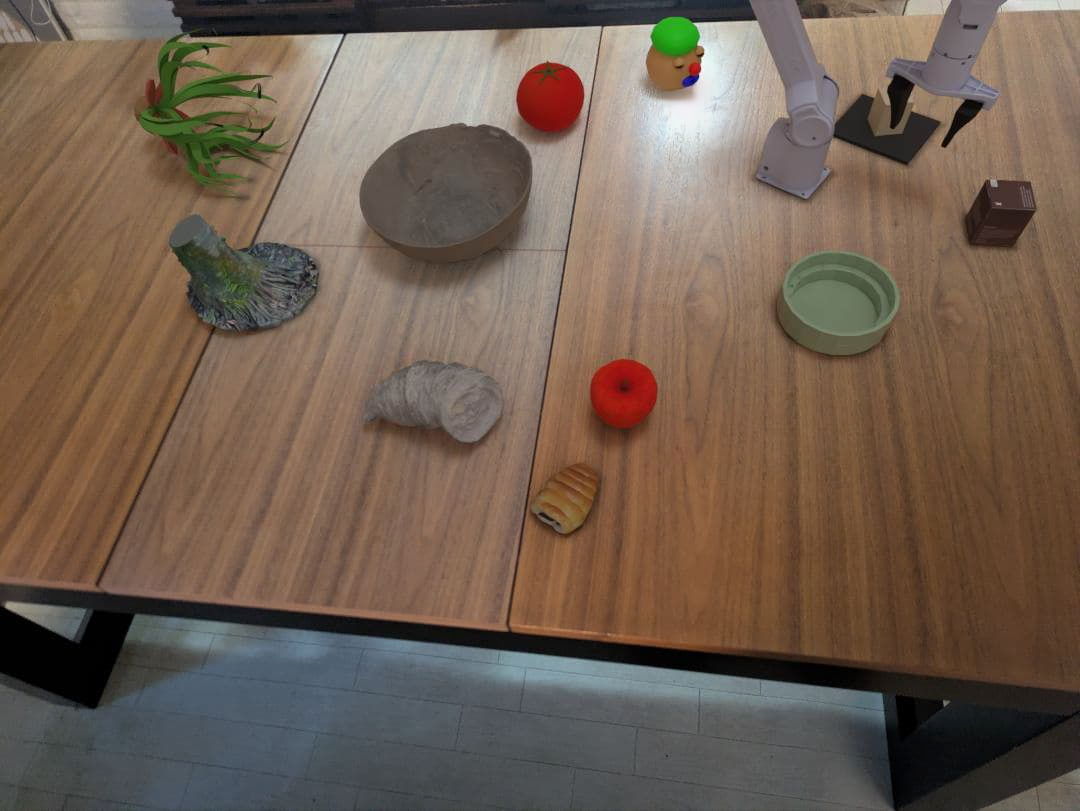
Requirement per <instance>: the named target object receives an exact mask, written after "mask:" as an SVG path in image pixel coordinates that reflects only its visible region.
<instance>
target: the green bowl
mask: <svg viewBox="0 0 1080 811" xmlns="http://www.w3.org/2000/svg"><path fill="white" fill-rule="evenodd" d="M900 303H901V294H900V289H899V286H898V282H896V280H895V278H894V277H893V276H892V274H891V273H890V272H889V270H888V269H886V268H885V267H884V266H882V265H881V264H880V263H879V262H877V261H876V260H874V259H872V258H869V257H867V256H865V255H863V254H861V253H857V252H853V251H848V250H844V249H827V250H826V249H824V250H820V251H816V252H813V253H808V254H806V255H805V256H803V257H801V258H800V259H798V260H796V261H795V262H793V264H792V265H791V266H790V268H789V269H788V270H787V271H786V273H785V275H784V279H783V283H782V285H781V289H780V293H779V296H778V300H777V303H776V310H777V319H778V321H779V322H780V325H781V326H782V328H783V330H784V332H785V333H786V334H787V335H789V336H790V337H791V339H793V340H794V341H795V342H796V343H797V344H799V345H801V346H803V347H805V348H807V349H808V350H811V351H813V352H816V353H821V354H825V355H829V356H851V355H855V354H859V353H863V352H866V351H868V350H870V349H871V348H872V347H874V346H876V345H877V344H879V343H880V342H881V341H882V339H883V338H884V336H885V335H886V333H887V332H888V331H889V328H890V327H891V325H892V323H893V321H894V319H895V317H896V315H897V313H898V311H899V307H900Z"/></svg>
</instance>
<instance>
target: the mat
mask: <svg viewBox="0 0 1080 811" xmlns="http://www.w3.org/2000/svg"><path fill="white" fill-rule="evenodd" d="M874 99H875V97H873V96H869V95H867V94H865V93H861V95H860V96H859V97H858V98H857V99H856V100H855V101H854V102H853V103H852V105H851V106H850V107H849V108H848V109H847V110H846V111H845V112H844V113H843V115H842V116H841V117H840V118H839V119H838V120H837V121H836V122H835V123H834V127H835V129H834V134H833V137H832V138H836V139H837V140H838V139H839V140H841V141H844V142H846V143H849V144H852V145H854V146H856V147H859V148H863V149H864V150H867V151H869V152H872V153H874V154H877V155H880V156H882V157H885V158H887V159H891V160H893V161H895V162H898V163H900V164H903V165H906V166H908V165H909V163H910V162H911V161H912V159H913V158H914V157H915V156H916V154H918V152H919V151H920V149H921V148H922V147H923V146H924V145H925V143H926V142H927V141H928V140H929V138H930V137H931V136H932V135H933V133H934V132H935V131H936V130H937V128H938V127H939V126H940V125H941V120H938V119H935V118H932V117H929V116H927V115H924V114H921V113H918V112H915V111H913V110H911V113H910V115H909V118H908V120H907V123H906V125H905V128H904V130H903V132H902V134H892V135H882V136H874V134H873V131H872V129H871V126H870V124H869V122H868V116H869V113H870V110H871V107H872V104H873V101H874Z"/></svg>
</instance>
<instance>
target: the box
mask: <svg viewBox="0 0 1080 811" xmlns="http://www.w3.org/2000/svg"><path fill="white" fill-rule="evenodd" d="M1037 208H1038V207H1037V203H1036V199H1035V195H1034V190H1033V186H1032V182H1031V180H1029V181H1028V180H1009V179H1008V180H1007V179H985V180H984V182H983V185H982V186H981V188H980V190H979V191H978V194H977V195H976V197H975V199H974V200H973V203H972V204H971V206H970V208H969V210H968V212H967V214H966V216H965V219H966V225H967V231H968V232H967V233H968V237H969V243H970V244H971V245H982V246H984V245H985V246H999V247H1000V246H1001V247H1014V246H1015V244H1016V242H1017V241H1018V240H1019V238H1020V237H1021V235H1022V233H1023V232H1024V230H1025V229H1026V228H1027V226H1028V224H1029V222H1030V221H1031V220H1032V219H1033V217H1034V215H1035V214H1036V213H1037V211H1038V209H1037Z"/></svg>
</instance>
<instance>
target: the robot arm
mask: <svg viewBox="0 0 1080 811" xmlns="http://www.w3.org/2000/svg"><path fill="white" fill-rule="evenodd" d="M748 1H749V3H750V6H751V8H752V11H753V13H754V16H755V18H756V21H757V23H758V26H759V28H760V30H761V33H762V36H763V38H764V40H765V43H766V45H767V48H768V50H769V53H770V55H771V58H772V60H773V63H774V65H775V67H776V70H777V72H778V75H779V77H780V80H781V82H782V85H783V87H784V92H785V93H784V94H785V106H786V113H787V115H788V117H783V116H780V117H777V119H776V120H775V121H774V122H773V123H772V125H771V127H770V128H769V130H768V133H767V134H766V138H765V139H764V143H763V147H762V150H761V151H762V152H761V156H760V161H759V166H758V171H757V172H756V174H755V176H754V177H755V179H756V180H759V181H761V182H764V183H766V184H768V185H771V186H773V187H775V188H778V189H780V190H782V191H784V192H787V193H789V194H791V195H794V196H797V197H798V198H800V199H803V200H808V199H809V198H810V197H811V196H812V195H813V194H814V192H815V191H816V190H817V189H818V188H819V187H820V185H822V183H824V181H825V180H826V178H828V176H829V175H830V174H831V172H832V169H830V168H829V167H826V166H825V163H826V160H827V157H828V153H829V150H830V147H831V143H832V140H833V138H834V137H833V134H834V129H835V127H834V125H835V121H836V120H835V119H836V113H837V112H836V111H837V105H838V99H839V97H840V86H839V83H838V82H837V80H836V79H835V78H833V77H832V76H831V75H830V74H829V73H828V72H827V70H826V67H825V65H824V64H823V63H820V62H819V61H818V59H817V56H816V54H815V51H814V49H813V45H812V42H811V40H810V37H809V33H808V31H807V29H806V26H805V23H804V20H803V17H802V15H801V13H800V9H799V6H798V4H797V1H796V0H748ZM1006 2H1008V0H950V2H949V4H948V5H947V7H946V10H945V12H944V14H943V17H942V19H941V22H940V25H939V28H938V30H937V33H936V35H935V38H934V41H933V43H932V46H931V48H930V51H929V54H928V56H927V58H926V61H922V60H915V59H913V60H912V59H905V58H901V57H897V56H895V57H894V58H893V59H892V61H891V62H890V63H889V64H888V67H887V70H886V72H885V75H884V77H886V78H888V79H892V80H891V82H890V83H889V84H888V86H887V87H888V88H887V94H888V97H889V100H890V106H891V122H890V128H891V129H895V128H896V126H897V125H898V124H899V123H900V121H901V119H902V117H903V114H904V111H905V108H906V105H907V102H908V99H909V97H910V95H912V93H913V90H914V88H915V86H916V87H918V88H920V89H922V90H923V91H924V92H927V93H928V94H930V95H933V96H939V97H948V98H956V99H960V100H964V101H963V102H962V103H961V104H960V105H959V106H958V108H957V109H956V110H955V113H954V115H953V119H952V121H951V124H950V126H949V129H948V131H947V133H946V134H945V136H944V138H943V140H942V141H941V144H940V147H941V148H944V149H946V148H947V147H948V146H949V145H950V144H951V142H952V140H953V138H954V137H955V136H956V135H957V134H958V132H959V131H961V130H962V129H963V128H964V127H965V126H966V125H968V124H969V123H971V121H973V120H974V119H975V118H976V117H977V116H978V114H979V113H980V112H981V111H982V110H984V111H987V112H990V111H991V110H992V108H993V107H994V106H995V105H996V103H997V101H998V99H999V97H1000V95H1001V93H1002V90H1000V89H997V88H995V87H993V86H992V85H991V86H990V85H989V84H987V83H985V82H984V81H982V80H980V79H979V78H977V77H976V76H974V75H972V74H971V72H972V70H973V68H974V66H975V63H976V61H977V59H978V57H979V55H980V52H981V50H982V48H983V46H984V45H985V44H984V43H985V42H986V39H987V37H988V36H989V33H990V31H991V29H992V27H993V24H994V21H995V20H996V17H997V12H998V10H999V8H1000V7H1001V6H1003V5H1004V4H1005V3H1006Z"/></svg>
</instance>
